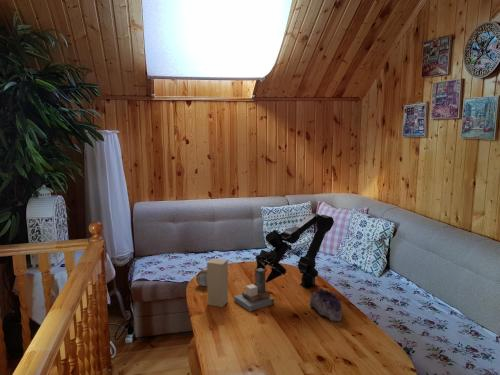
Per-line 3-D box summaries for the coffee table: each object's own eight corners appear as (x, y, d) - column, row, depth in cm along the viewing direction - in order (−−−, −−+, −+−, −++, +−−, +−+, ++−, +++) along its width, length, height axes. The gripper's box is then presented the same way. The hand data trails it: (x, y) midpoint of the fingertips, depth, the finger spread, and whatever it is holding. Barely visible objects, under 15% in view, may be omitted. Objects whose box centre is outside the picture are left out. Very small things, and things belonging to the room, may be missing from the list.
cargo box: (252, 291, 196) (252, 284, 195) (257, 294, 193) (257, 286, 192) (245, 293, 194) (245, 286, 193) (250, 296, 190) (250, 288, 190)
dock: (258, 294, 204) (258, 289, 203) (273, 303, 193) (273, 298, 193) (234, 301, 196) (234, 296, 196) (249, 311, 186) (249, 306, 185)
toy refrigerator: (228, 300, 196) (228, 259, 193) (222, 307, 190) (222, 264, 186) (213, 298, 199) (212, 257, 196) (207, 305, 192) (206, 262, 189)
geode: (352, 320, 178) (351, 299, 175) (329, 328, 174) (328, 307, 172) (328, 299, 196) (327, 280, 194) (307, 306, 193) (305, 287, 190)
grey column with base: (259, 290, 201) (258, 265, 199) (270, 297, 194) (269, 271, 192) (242, 296, 196) (241, 270, 194) (252, 302, 188) (252, 276, 186)
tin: (225, 285, 215) (225, 270, 213) (224, 288, 212) (224, 272, 210) (197, 284, 216) (196, 269, 215) (195, 287, 213) (195, 271, 212)
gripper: (258, 238, 203) (239, 264, 199) (281, 248, 188) (262, 276, 183) (270, 251, 209) (253, 276, 204) (294, 261, 193) (276, 288, 189)
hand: (260, 279), depth 195 cm, fingers open, 9 cm apart
